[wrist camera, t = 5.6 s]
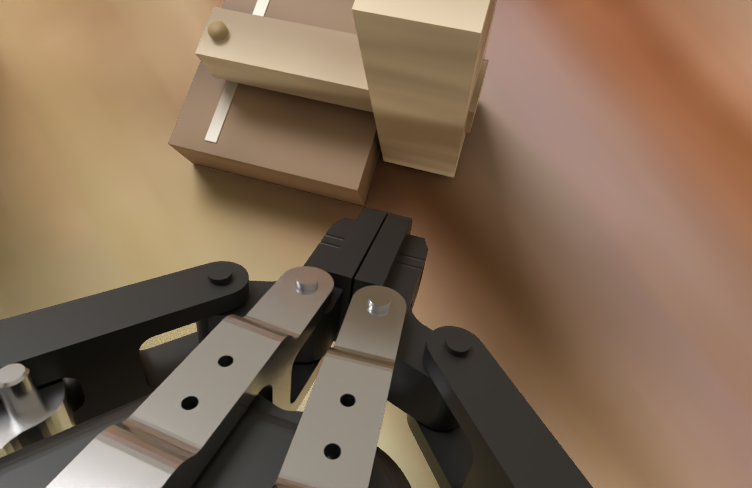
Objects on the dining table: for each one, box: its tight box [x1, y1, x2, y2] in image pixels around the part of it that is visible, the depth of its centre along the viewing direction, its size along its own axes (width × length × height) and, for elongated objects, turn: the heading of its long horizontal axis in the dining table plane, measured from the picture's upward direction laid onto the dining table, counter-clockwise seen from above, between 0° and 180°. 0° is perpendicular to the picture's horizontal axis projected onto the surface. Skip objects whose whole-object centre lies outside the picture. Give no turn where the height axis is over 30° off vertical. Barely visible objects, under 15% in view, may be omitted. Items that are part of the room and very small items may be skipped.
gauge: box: [195, 0, 497, 178], centre depth 16 cm, size 4×10×9 cm, turn 74°
